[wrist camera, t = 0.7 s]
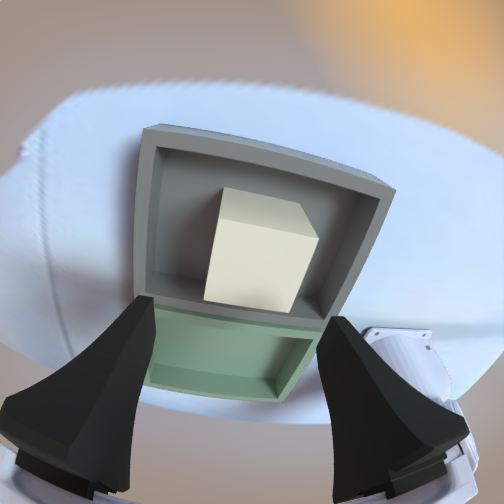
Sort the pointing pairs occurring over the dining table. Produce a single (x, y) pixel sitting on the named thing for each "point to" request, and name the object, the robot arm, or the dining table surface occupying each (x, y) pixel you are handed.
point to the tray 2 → (228, 355)
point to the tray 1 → (255, 181)
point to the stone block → (259, 251)
